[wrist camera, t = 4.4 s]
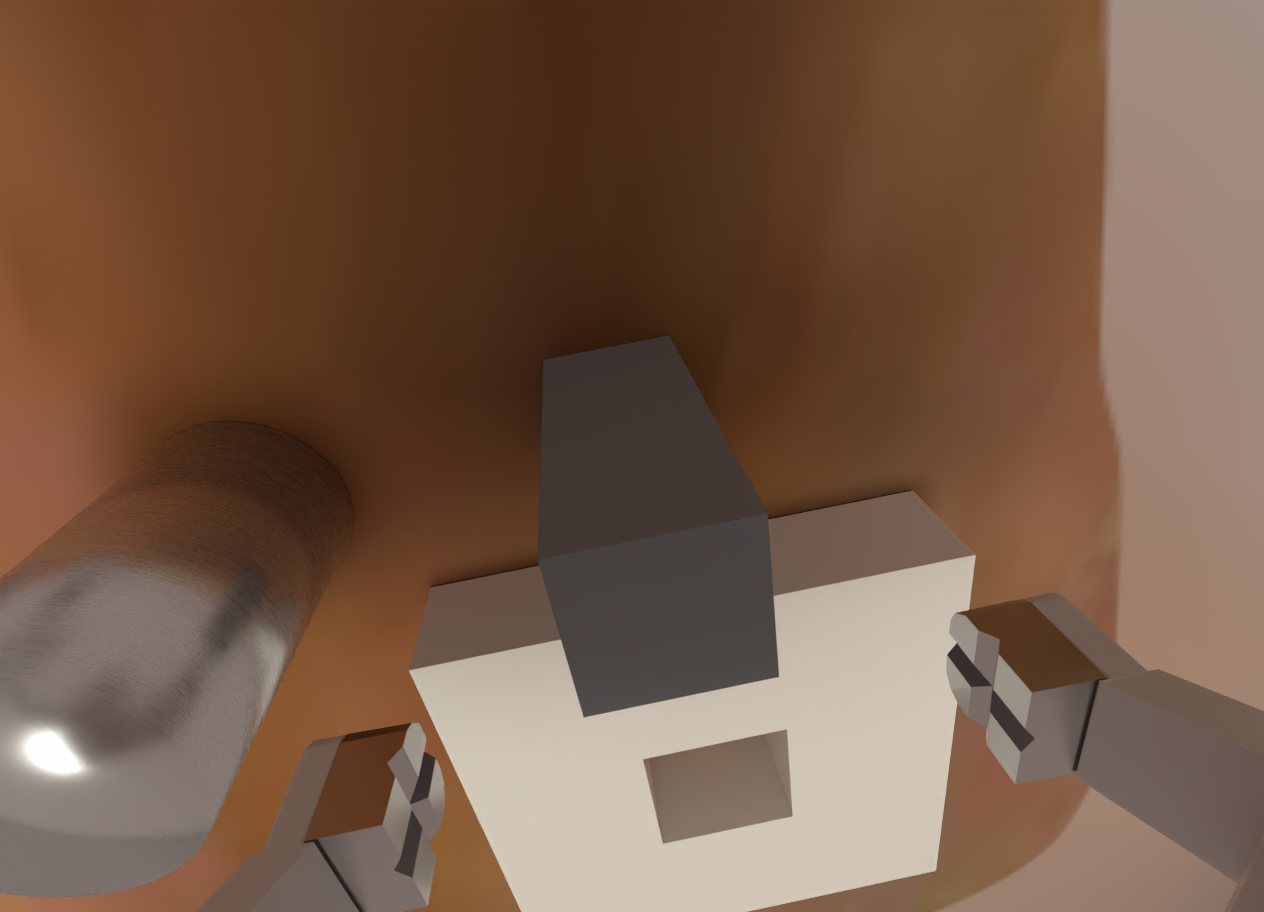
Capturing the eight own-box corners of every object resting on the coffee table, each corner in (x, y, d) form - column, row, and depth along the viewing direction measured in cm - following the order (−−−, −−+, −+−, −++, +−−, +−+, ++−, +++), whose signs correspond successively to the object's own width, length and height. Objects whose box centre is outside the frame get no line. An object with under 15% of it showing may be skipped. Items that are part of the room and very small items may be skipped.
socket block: (430, 587, 20) (408, 670, 17) (912, 490, 21) (975, 554, 18) (542, 864, 28) (542, 955, 25) (894, 789, 28) (935, 870, 25)
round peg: (101, 443, 17) (-290, 722, 9) (308, 403, 17) (99, 645, 9) (202, 600, 20) (-33, 923, 12) (380, 564, 20) (267, 860, 12)
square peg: (543, 359, 17) (537, 559, 9) (668, 335, 17) (768, 513, 9) (569, 469, 19) (583, 716, 11) (684, 446, 19) (779, 677, 11)
